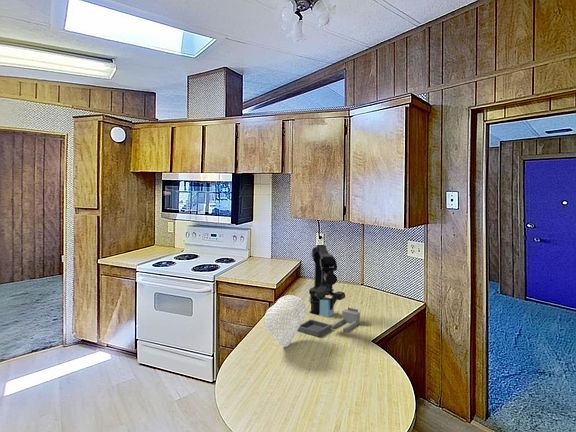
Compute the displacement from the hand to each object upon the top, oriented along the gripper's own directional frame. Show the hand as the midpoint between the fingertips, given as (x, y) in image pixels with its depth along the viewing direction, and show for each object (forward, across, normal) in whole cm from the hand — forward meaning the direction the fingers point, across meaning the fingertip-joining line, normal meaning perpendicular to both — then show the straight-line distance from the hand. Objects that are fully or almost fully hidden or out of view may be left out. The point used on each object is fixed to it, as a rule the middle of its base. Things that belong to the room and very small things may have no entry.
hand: (326, 309), depth 181 cm
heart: (+12, -6, -28) cm, 31 cm away
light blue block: (+3, 0, 0) cm, 3 cm away
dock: (+12, +5, +14) cm, 19 cm away
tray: (+12, -6, -3) cm, 13 cm away
